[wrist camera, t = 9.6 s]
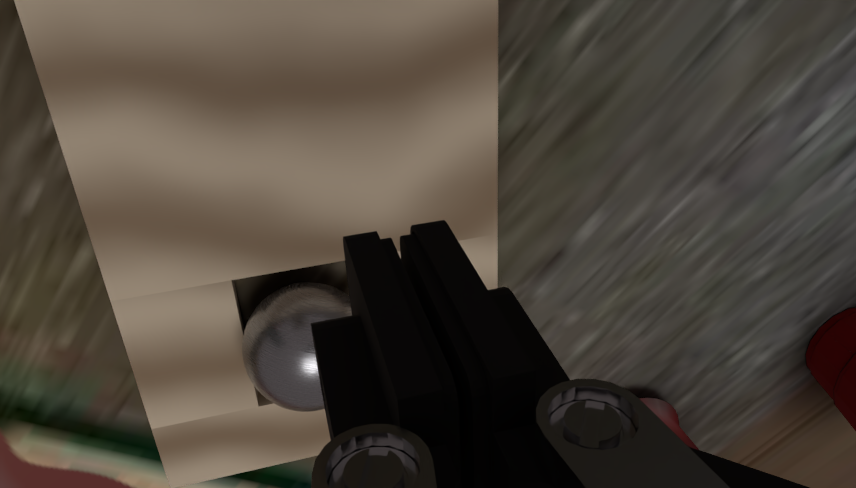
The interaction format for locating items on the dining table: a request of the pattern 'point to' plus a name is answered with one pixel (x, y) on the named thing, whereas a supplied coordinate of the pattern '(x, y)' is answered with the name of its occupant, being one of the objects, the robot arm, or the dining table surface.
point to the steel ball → (290, 343)
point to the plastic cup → (836, 361)
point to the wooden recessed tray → (258, 175)
